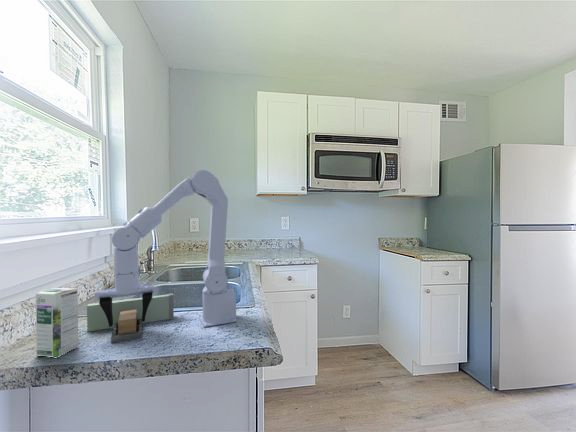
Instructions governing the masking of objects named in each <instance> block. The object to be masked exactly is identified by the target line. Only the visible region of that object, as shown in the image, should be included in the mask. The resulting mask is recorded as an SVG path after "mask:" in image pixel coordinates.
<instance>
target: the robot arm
mask: <svg viewBox="0 0 576 432" xmlns="http://www.w3.org/2000/svg"><path fill="white" fill-rule="evenodd" d="M194 194H196V195H198V196H201V197H202V198H203V199H204V200H206V201H207V202H208V204H209V205H211V206H210V220H209V236H208V250H207V251H208V252H207V260H206V267H205V269H204V271H203V272H202V280H203V283H204V287H203V289H202V292H201V293H202V294H201V295H202V315H201V316H200V317H199V321H200V322H201V325H202V326H203V327H204V328H206V327H213V326H219V325H224V324H229V323H236V322H237V321H238V319H237V297H236V296H237V295H236V291H235V290H234V289H233V288H228V287H227V286H228V282H229V279H228V276H227V273H226V263H225V262H226V261H225V254H226V252H225V251H226V237H227V235H226V234H227V222H228V206H229V200H228V197H227V195H226V193H225V191H224V190H223V188H222V186H221V184H220V181H219V179H218V178H217V177H216V176H215V175H214V174H213V173H212V172H211V171H209V170H205V169H200V170H197V171H196V172H194V173H193V175H192V177H191V176H189V177H187V178H185V179H184V180H182V181H181V182H180V183H178V184H177V185H176V186H175V187H174V188H173V189H172V190H171V191H169V192H168V193H167V194H166V195H164V197H162V199H160V200H159V202H157V203H156V204H155V205H154V206H145V207H144V208H139V209H138V210H137V211H136V212H137V214H136V215H135V216H133V217H132V218H131V219H130V220H128V222H127V221H125V222H124V223H122V225H123V226H124V227H121V228H119V227H118V228H117V229H116V231H115V232H114V233H113V235H112V237H111V242H112V245H113V247H114V250H113V251H114V256H113V266H114V267H113V269H114V270H113V271H114V275H113V276H114V288H109V289H104V290H103V289H102V290H97V291H94V301H98V303H99V304H100V306H101V308H102V309H103V311H104V313H105V315H106V317H107V320H108V323H109V327H111V326H112V325H113V315H112V301H113V298H122V297H129V296H130V297H131V296H138V295H141V298H142V302H143V311H142V322H144V321H145V316H146V312H147V309H148V306H149V304H150V301H151V299H152V296H153V294H158V291H157V290H158V288H157V284H153V285H150V284H149V285H140V279H139V278H140V275H139V274H140V273H139V272H140V271H139V269H140V268H139V254H138V244H139V243H140V239H144V238H145V237H146V236H147V235H149V234H150V233H151V232H153V230H155V228H157V227H158V226H159V225H160V224H161V223H162V218H163V217H162V216H163V214H165V213H166V212H167V211H169V210H170V209H171V208H172V207H174V206H175V205H176V204H177V203H178V202H179V201H181V200H182V199H183V198H185V197H189V196H194Z"/></svg>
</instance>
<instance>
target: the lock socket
mask: <svg viewBox="0 0 576 432" xmlns="http://www.w3.org/2000/svg"><path fill="white" fill-rule="evenodd" d="M137 326H138V331H137V332H134V333H128V334H122V335H118V334H117V332H118V322H117V323H115V325H114V328H112V333H111V335H110V344H114V343H120V341H121V342H126V340H127V341H131V339H133V340H136V339H137V338H138V339H142V333H143V323H142V319H137Z"/></svg>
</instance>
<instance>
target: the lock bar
mask: <svg viewBox="0 0 576 432" xmlns="http://www.w3.org/2000/svg"><path fill="white" fill-rule="evenodd" d="M137 330H138V325H137V309H136V310H129V311H122V312H120V315H119V319H118V329H117V332H118V334H117V335H122V334H128V333H134V332H138V331H137Z"/></svg>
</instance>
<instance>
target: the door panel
mask: <svg viewBox="0 0 576 432" xmlns="http://www.w3.org/2000/svg"><path fill="white" fill-rule="evenodd" d="M136 309H137V319H142V311H143V302H142V297H136V298H135V297H134V298H127V299H119V300H112V315H113V325H112V326H111V327H109V323H108V320H107V317H106V315H105V313H104V311H103V309H102V308H101V306H100V304H99V302H95V303H88V304H87V305H86V328H87V329H86V331H87V332H94V331H95V332H96V331H102V330H107V329H114V325H115V323H117V322H118V319H119V315H120V312H122V311H129V310H136ZM174 312H175V310H174V293H172V292H171V293H168V294H161V295H160V294H159V295H152V299H151V301H150V304H149V306H148V309H147V312H146V316H145V321H144V322H142V324H145V323H152V322H158V321H164V320H172V319H175V318H174V317H175V316H174V314H175V313H174Z"/></svg>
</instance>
